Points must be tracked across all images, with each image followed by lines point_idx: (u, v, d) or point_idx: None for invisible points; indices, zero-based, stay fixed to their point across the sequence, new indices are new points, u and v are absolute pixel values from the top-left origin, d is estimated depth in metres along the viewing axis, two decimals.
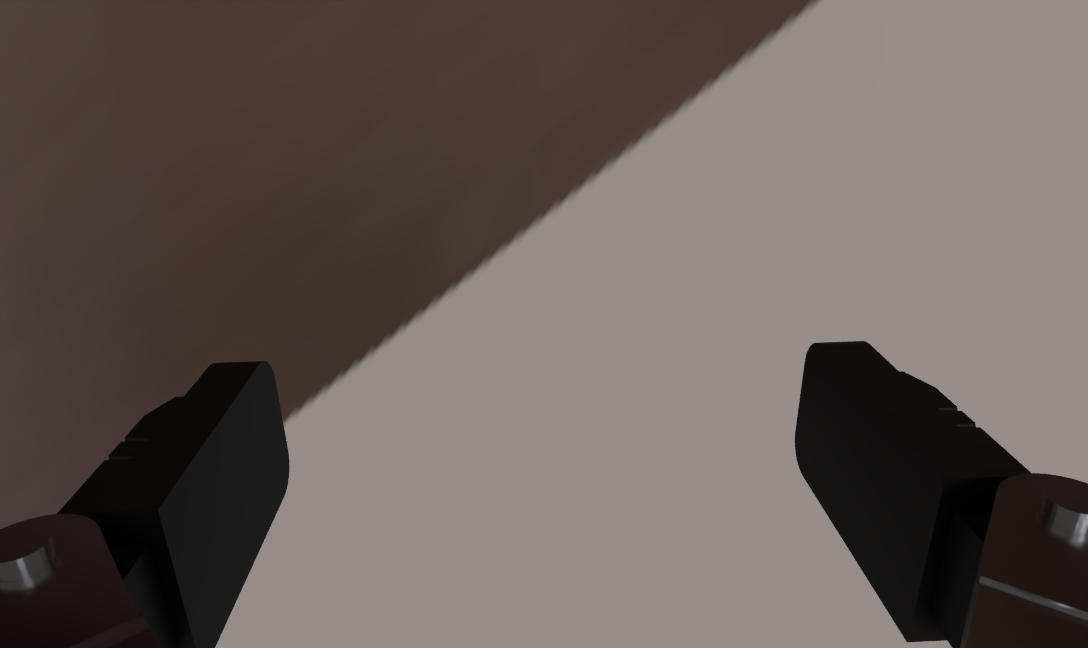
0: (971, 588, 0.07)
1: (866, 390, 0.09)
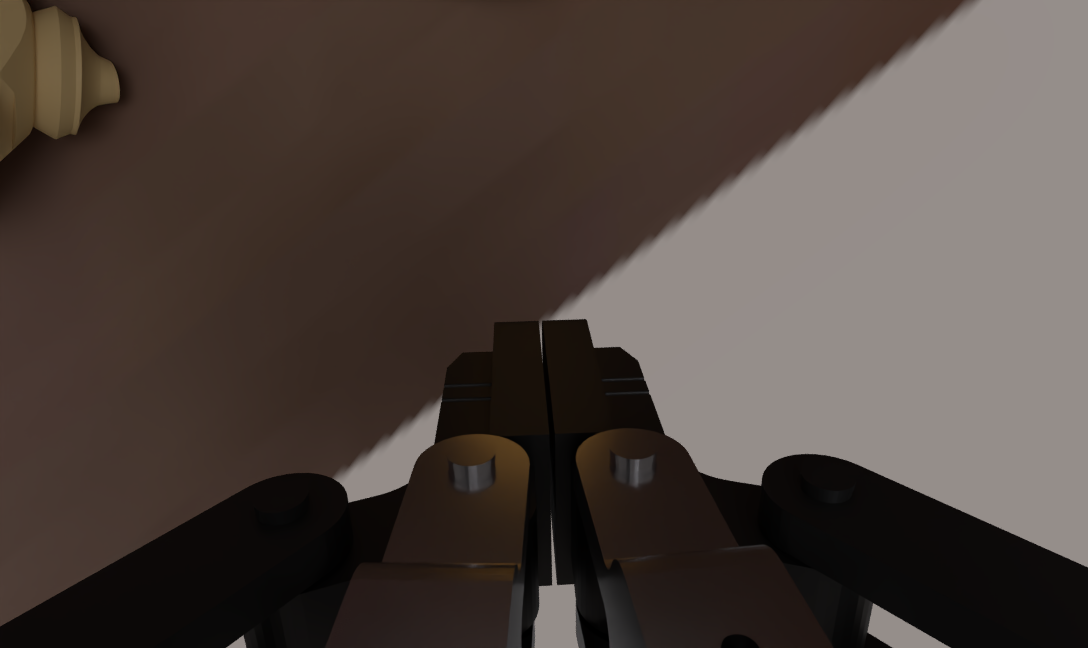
0: (580, 557, 0.08)
1: (549, 361, 0.10)
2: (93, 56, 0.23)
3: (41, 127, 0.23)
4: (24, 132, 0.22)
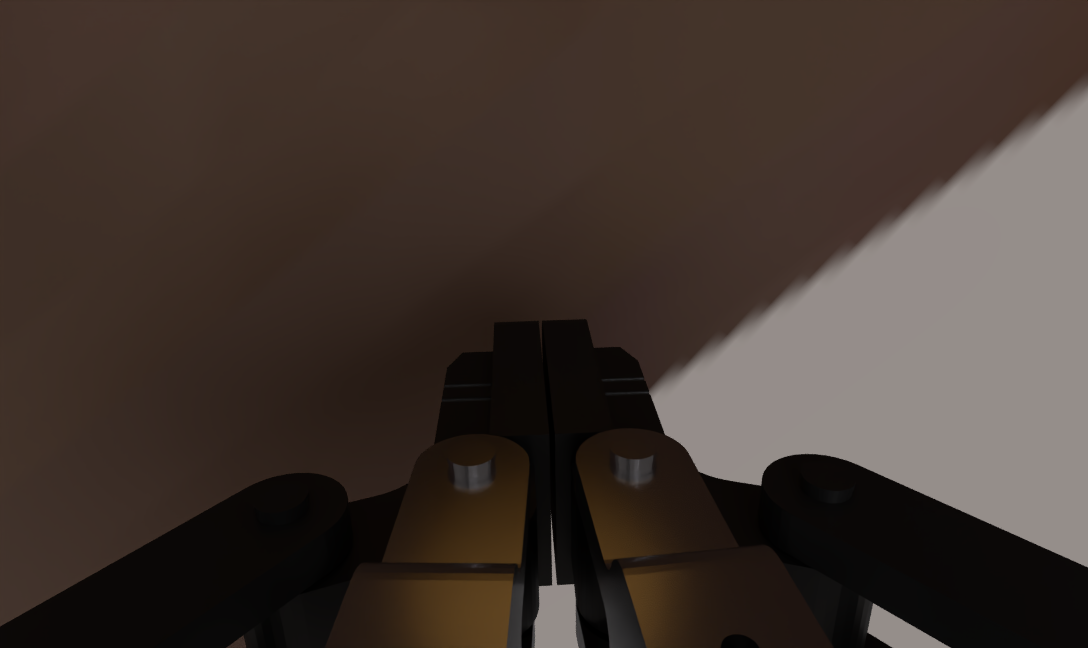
0: (580, 557, 0.08)
1: (549, 361, 0.10)
2: None
3: None
4: None
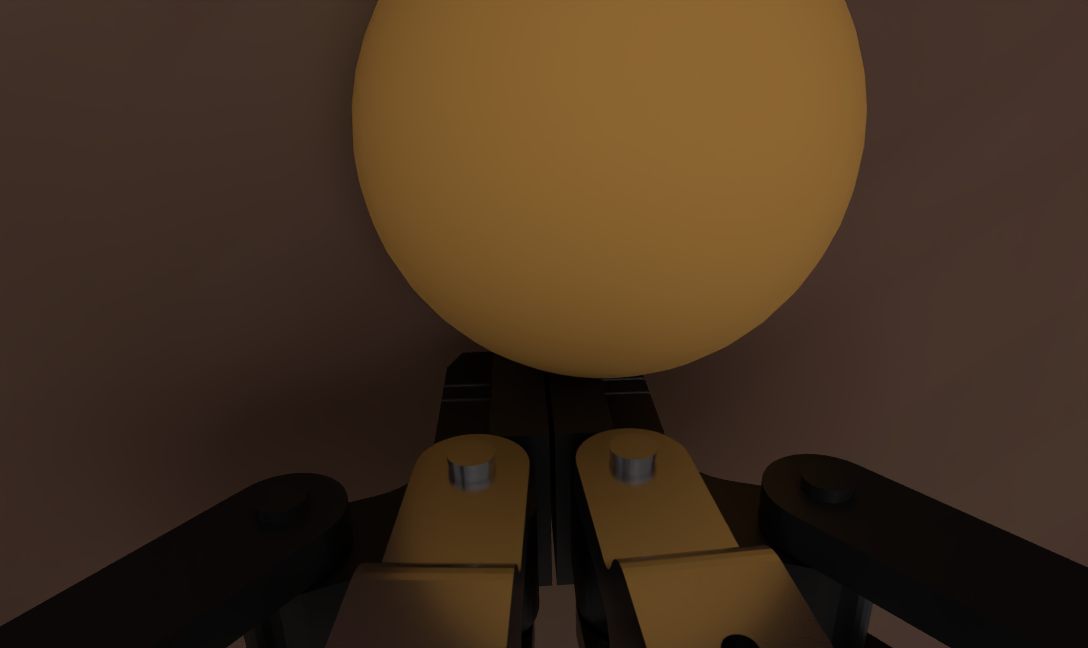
0: (580, 557, 0.08)
1: None
2: None
3: None
4: None
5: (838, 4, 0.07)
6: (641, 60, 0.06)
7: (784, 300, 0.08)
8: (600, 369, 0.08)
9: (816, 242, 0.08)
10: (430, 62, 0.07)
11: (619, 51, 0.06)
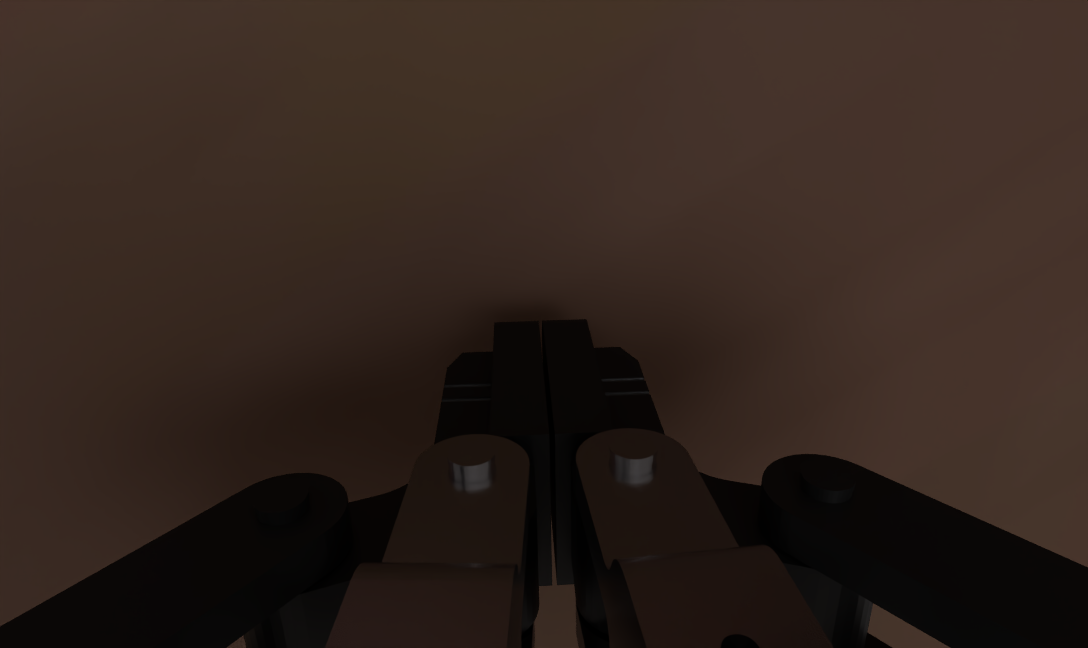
0: (580, 557, 0.08)
1: (549, 361, 0.10)
2: None
3: None
4: None
5: None
6: None
7: None
8: None
9: None
10: None
11: None
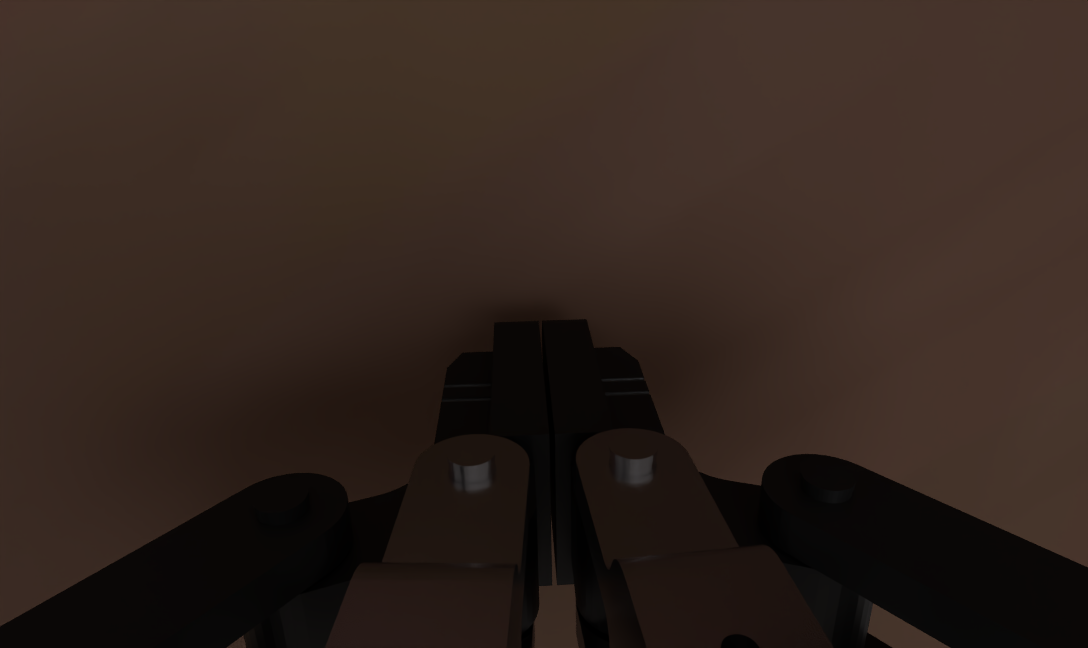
0: (580, 557, 0.08)
1: (549, 361, 0.10)
2: None
3: None
4: None
5: None
6: None
7: None
8: None
9: None
10: None
11: None
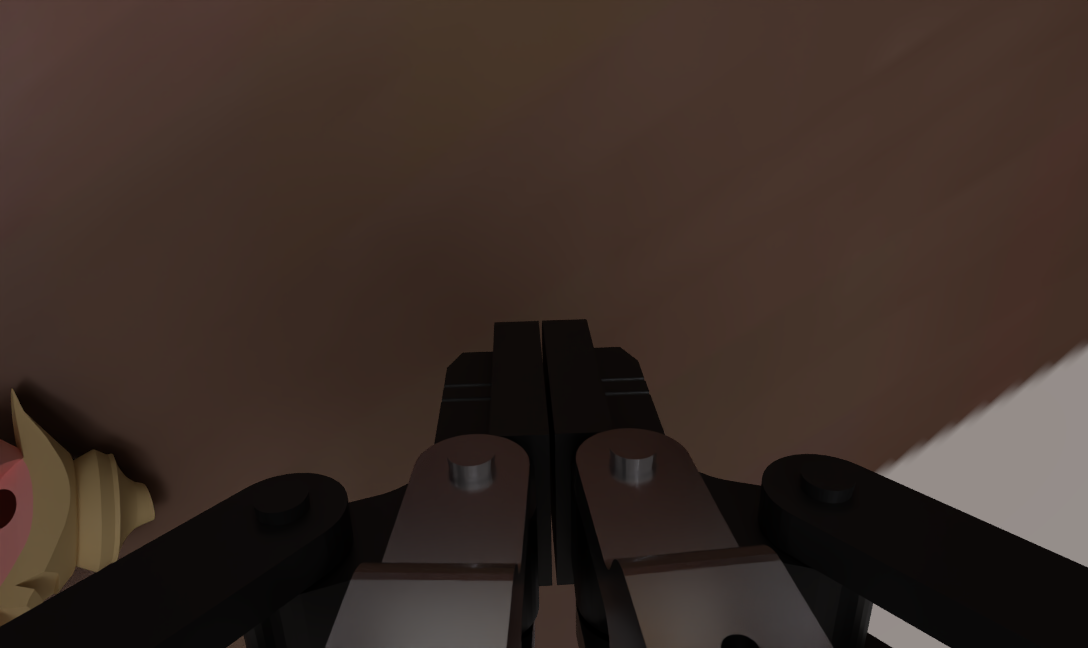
0: (580, 557, 0.08)
1: (549, 361, 0.10)
2: (130, 494, 0.25)
3: (81, 567, 0.24)
4: None
5: None
6: None
7: None
8: None
9: None
10: None
11: None
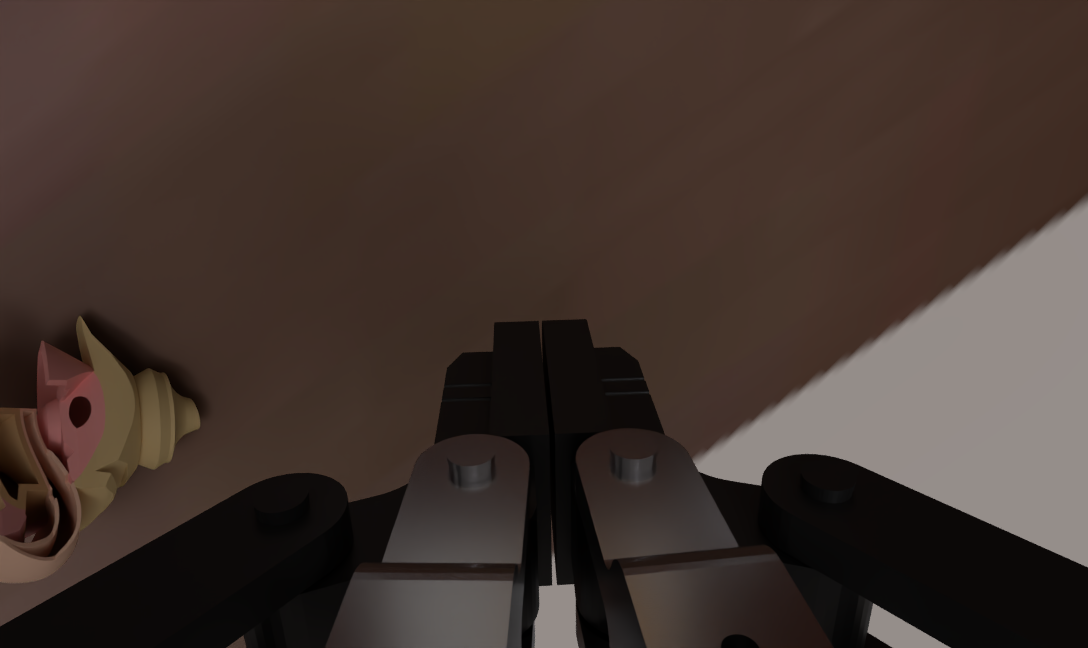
0: (580, 557, 0.08)
1: (549, 361, 0.10)
2: (180, 405, 0.29)
3: (141, 465, 0.29)
4: (130, 476, 0.28)
5: None
6: None
7: None
8: None
9: None
10: None
11: None
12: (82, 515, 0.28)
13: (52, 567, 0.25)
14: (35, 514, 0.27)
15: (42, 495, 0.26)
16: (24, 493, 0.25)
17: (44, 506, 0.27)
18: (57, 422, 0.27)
